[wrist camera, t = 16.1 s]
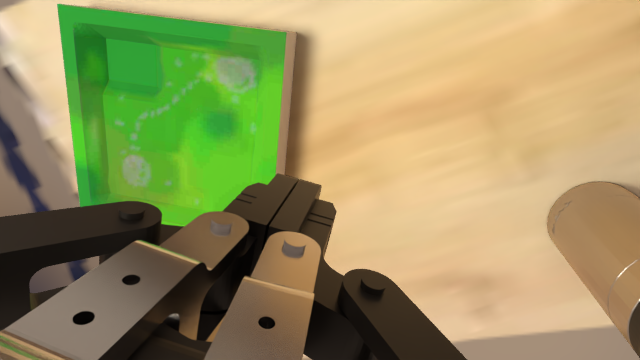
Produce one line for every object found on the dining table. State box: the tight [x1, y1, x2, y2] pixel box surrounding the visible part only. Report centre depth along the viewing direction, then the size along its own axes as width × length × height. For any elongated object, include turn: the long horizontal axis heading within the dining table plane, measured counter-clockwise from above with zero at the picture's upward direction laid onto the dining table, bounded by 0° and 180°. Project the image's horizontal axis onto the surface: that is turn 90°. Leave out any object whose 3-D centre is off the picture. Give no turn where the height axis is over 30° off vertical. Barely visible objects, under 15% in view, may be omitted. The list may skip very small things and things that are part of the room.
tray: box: [57, 4, 297, 226], centre depth 48 cm, size 25×25×5 cm
